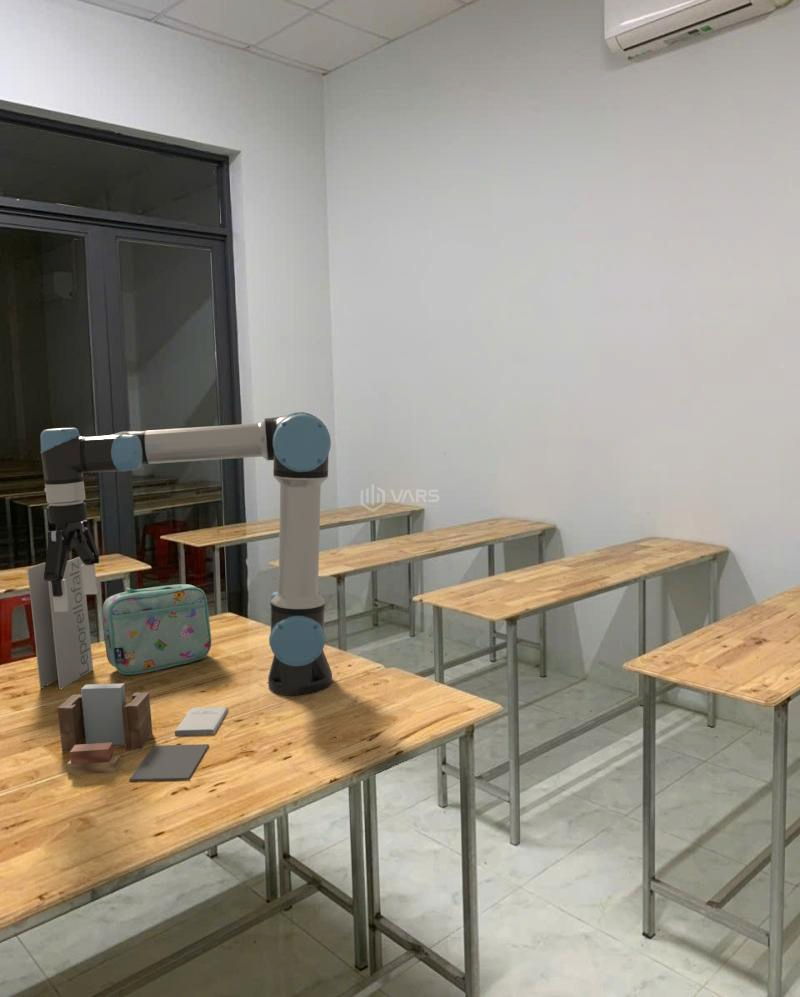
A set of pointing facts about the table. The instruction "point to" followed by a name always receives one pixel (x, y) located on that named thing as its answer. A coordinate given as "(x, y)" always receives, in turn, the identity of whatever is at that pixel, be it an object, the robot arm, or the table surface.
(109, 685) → the grey upright panel
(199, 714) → the external hard drive
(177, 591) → the lunch box
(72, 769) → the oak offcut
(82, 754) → the mahogany offcut
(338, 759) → the table surface
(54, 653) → the brochure
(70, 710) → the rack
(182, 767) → the mat
